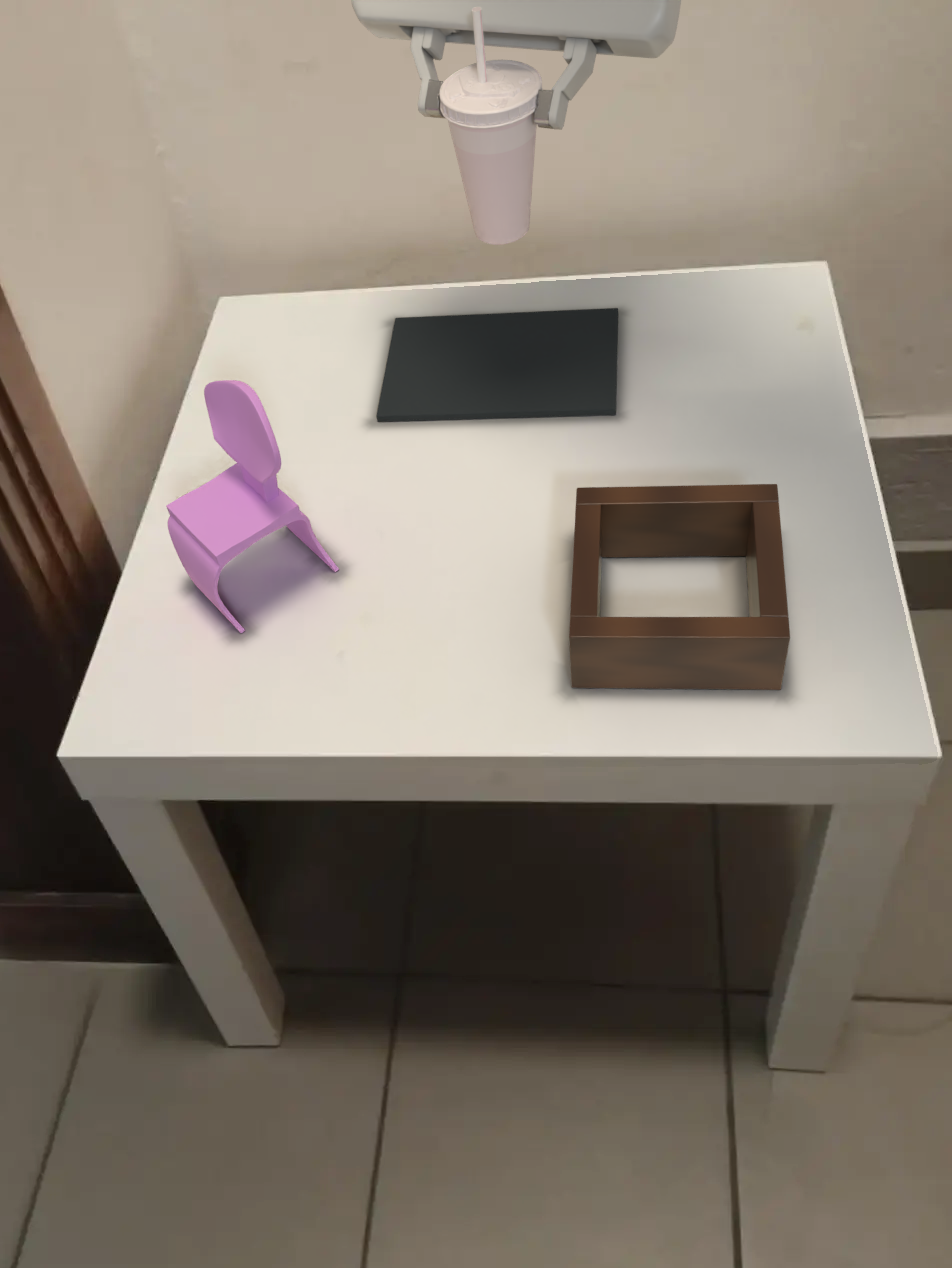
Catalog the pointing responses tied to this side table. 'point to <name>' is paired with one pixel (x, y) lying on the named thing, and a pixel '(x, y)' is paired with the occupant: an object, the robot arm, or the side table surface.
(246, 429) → the toy chair
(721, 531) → the crate
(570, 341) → the mat
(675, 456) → the side table surface
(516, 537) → the side table surface
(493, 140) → the smoothie
